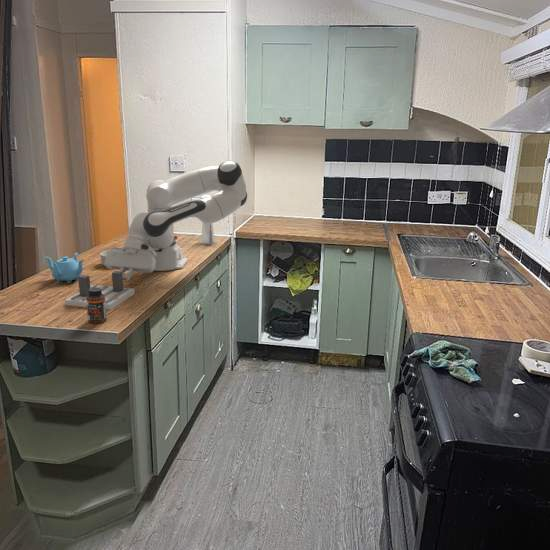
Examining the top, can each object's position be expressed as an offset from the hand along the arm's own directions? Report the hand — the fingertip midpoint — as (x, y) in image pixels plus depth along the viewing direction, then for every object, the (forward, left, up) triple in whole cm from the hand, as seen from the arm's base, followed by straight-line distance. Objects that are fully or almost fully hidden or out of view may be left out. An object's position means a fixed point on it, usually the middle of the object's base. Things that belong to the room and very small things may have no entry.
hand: (124, 279), depth 196 cm
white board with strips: (+10, -5, -5) cm, 12 cm away
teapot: (-7, -31, -5) cm, 32 cm away
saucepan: (-38, -24, -6) cm, 45 cm away
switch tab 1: (+13, -9, -3) cm, 16 cm away
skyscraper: (-86, +3, -6) cm, 86 cm away
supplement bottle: (+29, +5, -5) cm, 30 cm away
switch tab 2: (+5, 0, -3) cm, 6 cm away
